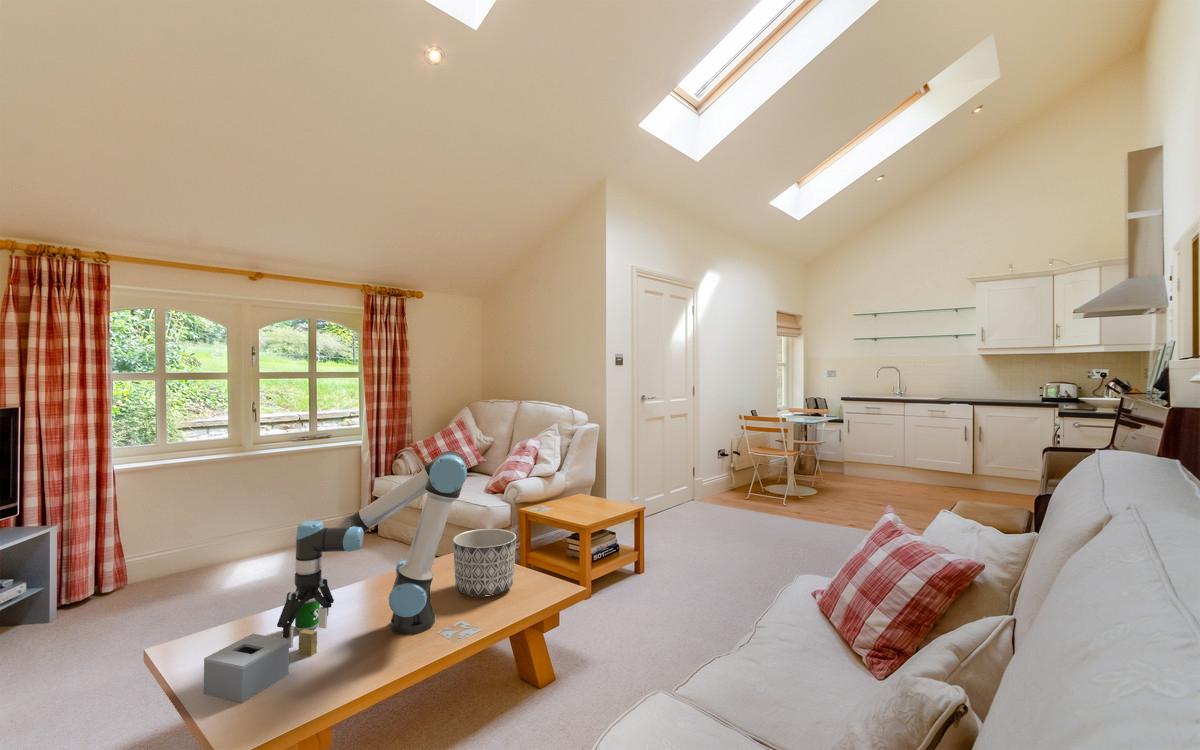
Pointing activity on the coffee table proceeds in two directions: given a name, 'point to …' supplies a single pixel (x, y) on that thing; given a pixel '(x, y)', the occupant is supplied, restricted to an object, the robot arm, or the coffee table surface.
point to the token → (307, 642)
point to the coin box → (246, 667)
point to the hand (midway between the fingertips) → (306, 637)
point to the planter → (484, 561)
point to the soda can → (308, 616)
